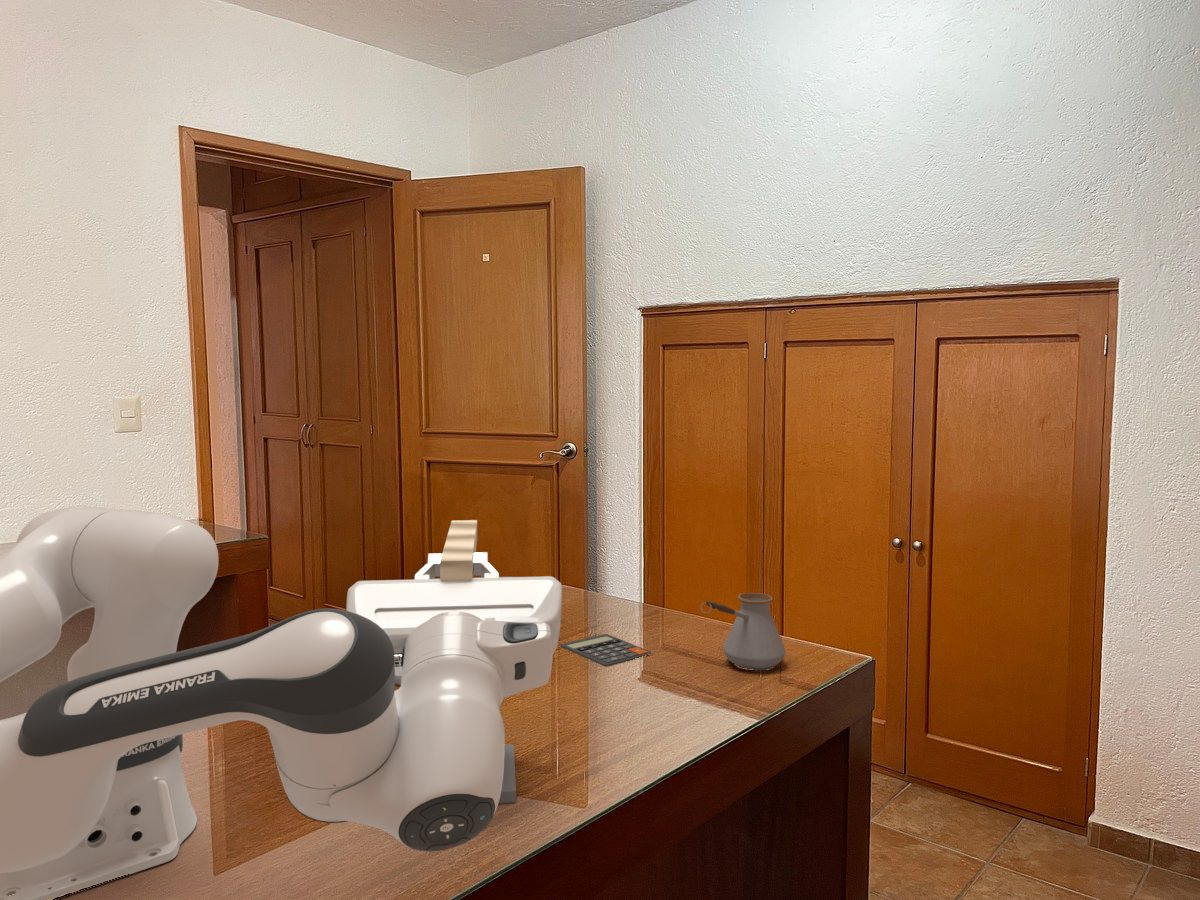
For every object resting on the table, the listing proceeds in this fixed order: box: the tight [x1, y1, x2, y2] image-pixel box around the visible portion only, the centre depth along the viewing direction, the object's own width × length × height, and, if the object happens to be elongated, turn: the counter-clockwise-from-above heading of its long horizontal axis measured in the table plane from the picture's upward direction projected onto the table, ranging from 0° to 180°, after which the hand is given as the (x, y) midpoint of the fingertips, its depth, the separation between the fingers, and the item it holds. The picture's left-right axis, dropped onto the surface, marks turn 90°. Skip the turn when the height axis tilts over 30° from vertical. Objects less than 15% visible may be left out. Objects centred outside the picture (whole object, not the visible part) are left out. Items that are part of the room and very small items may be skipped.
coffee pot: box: [700, 592, 786, 671], centre depth 162 cm, size 21×12×15 cm, turn 137°
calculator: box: [559, 633, 652, 668], centre depth 174 cm, size 12×1×15 cm
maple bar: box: [439, 519, 478, 580], centre depth 96 cm, size 22×3×2 cm, turn 7°
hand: (458, 557), depth 90 cm, fingers closed on maple bar, 3 cm apart
